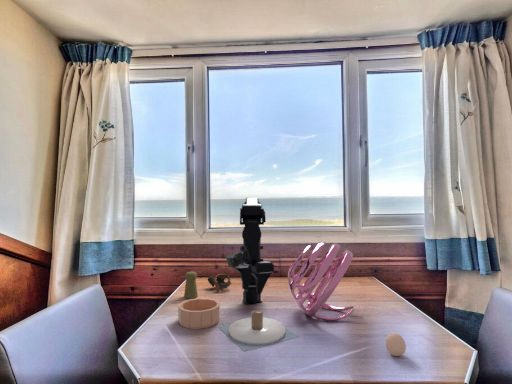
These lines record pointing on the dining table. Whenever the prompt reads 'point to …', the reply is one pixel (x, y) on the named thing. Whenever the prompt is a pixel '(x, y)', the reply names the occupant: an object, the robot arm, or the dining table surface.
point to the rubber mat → (249, 346)
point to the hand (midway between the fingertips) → (252, 291)
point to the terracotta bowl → (199, 313)
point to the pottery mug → (219, 281)
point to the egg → (395, 344)
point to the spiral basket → (306, 289)
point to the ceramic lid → (257, 329)
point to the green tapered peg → (190, 285)
